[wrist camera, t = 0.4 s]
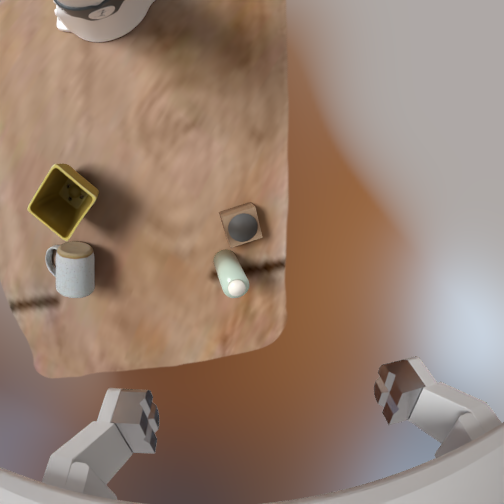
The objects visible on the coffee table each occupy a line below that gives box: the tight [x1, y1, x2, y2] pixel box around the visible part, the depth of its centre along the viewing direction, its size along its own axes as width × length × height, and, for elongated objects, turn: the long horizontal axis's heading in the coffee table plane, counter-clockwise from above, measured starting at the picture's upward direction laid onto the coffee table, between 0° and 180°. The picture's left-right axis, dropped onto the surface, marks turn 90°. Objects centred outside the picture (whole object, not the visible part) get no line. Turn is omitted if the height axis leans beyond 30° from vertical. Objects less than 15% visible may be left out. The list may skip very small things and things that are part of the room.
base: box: [219, 202, 263, 248], centre depth 55 cm, size 6×6×3 cm
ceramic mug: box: [46, 241, 95, 298], centre depth 47 cm, size 11×8×8 cm
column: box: [213, 250, 249, 298], centre depth 54 cm, size 4×4×11 cm
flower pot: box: [27, 164, 99, 241], centre depth 42 cm, size 9×9×9 cm
